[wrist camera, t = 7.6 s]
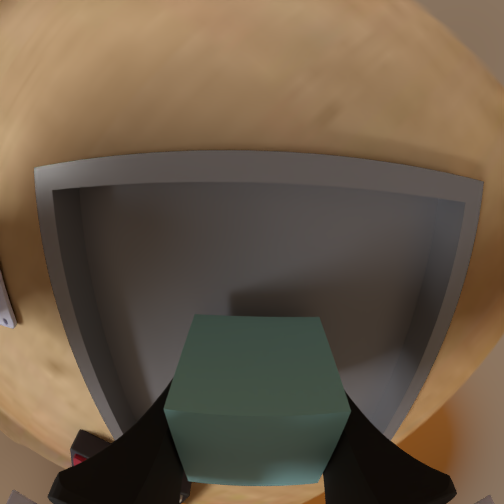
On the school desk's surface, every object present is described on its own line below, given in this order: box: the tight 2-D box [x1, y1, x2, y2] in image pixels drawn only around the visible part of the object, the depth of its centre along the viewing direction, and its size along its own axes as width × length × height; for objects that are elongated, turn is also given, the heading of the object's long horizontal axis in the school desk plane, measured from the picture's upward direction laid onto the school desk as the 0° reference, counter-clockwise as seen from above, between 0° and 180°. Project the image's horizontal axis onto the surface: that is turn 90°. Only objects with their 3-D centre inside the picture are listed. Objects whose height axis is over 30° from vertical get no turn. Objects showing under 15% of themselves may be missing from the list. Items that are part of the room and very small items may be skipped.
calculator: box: [70, 429, 191, 504], centre depth 20 cm, size 11×4×15 cm
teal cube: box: [164, 314, 351, 486], centre depth 10 cm, size 5×5×5 cm
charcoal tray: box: [34, 150, 484, 441], centre depth 13 cm, size 18×18×2 cm
